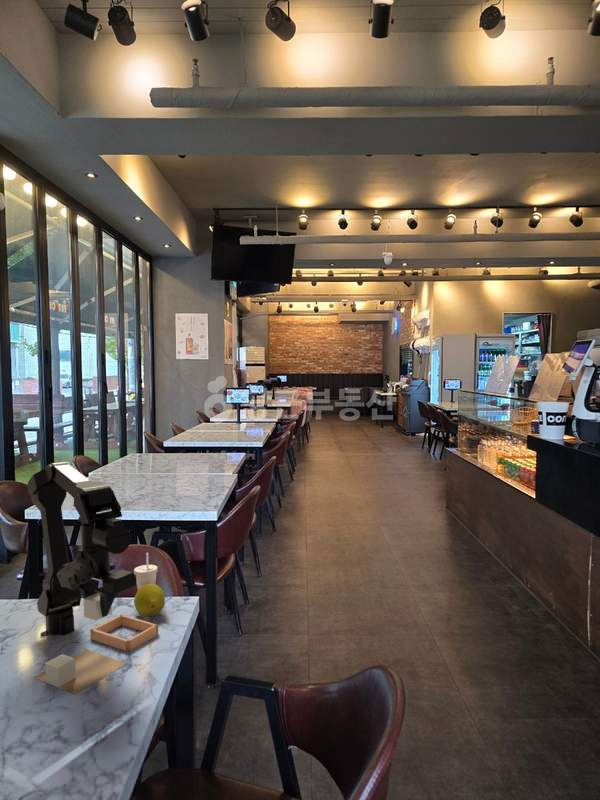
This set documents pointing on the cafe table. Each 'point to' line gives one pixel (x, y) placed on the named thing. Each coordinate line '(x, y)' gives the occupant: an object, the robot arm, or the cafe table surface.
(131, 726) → the cafe table surface
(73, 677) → the stone
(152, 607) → the lemon
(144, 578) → the smoothie
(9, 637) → the cafe table surface
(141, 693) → the cafe table surface
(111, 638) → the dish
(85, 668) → the board
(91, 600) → the cream cube
